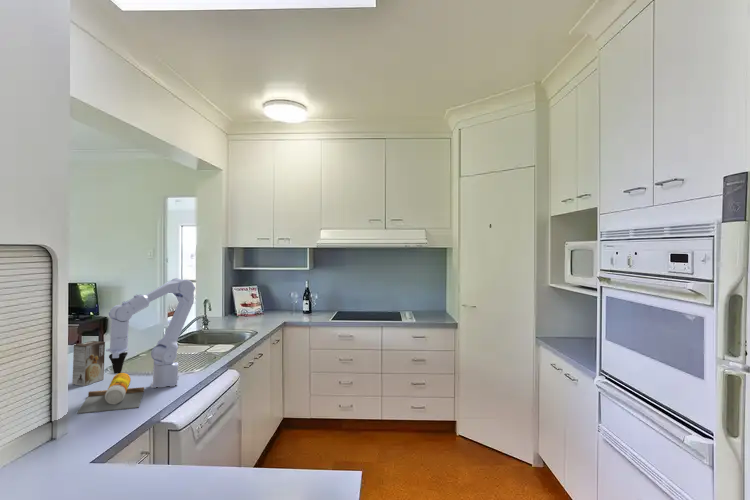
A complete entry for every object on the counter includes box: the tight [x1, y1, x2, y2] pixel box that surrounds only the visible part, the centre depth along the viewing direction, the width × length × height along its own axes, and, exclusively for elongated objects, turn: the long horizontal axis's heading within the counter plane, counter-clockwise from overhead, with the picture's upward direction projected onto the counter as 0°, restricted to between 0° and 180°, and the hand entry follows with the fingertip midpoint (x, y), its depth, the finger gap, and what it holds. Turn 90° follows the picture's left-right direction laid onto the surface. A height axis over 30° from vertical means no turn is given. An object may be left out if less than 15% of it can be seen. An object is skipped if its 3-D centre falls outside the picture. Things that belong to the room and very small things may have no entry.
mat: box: [76, 391, 145, 415], centre depth 149 cm, size 18×17×1 cm
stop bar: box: [87, 386, 145, 397], centre depth 157 cm, size 18×1×2 cm, turn 114°
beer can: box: [105, 372, 132, 404], centre depth 153 cm, size 6×6×15 cm
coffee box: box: [71, 340, 106, 387], centre depth 170 cm, size 9×6×16 cm
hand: (117, 372), depth 156 cm, fingers closed
